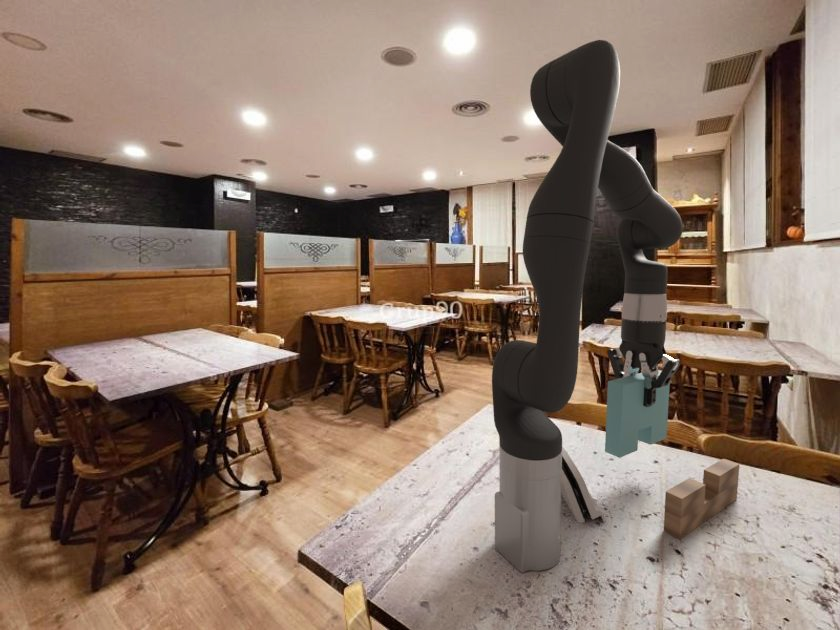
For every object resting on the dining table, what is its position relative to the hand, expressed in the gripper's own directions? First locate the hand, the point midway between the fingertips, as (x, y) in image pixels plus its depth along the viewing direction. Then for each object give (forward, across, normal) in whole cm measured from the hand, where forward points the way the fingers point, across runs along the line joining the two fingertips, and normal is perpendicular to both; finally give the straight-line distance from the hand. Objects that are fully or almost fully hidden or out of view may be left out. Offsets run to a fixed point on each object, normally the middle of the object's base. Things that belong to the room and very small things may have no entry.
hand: (639, 402), depth 78 cm
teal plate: (+9, 0, 0) cm, 9 cm away
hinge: (+18, -4, -14) cm, 23 cm away
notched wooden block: (+17, +12, 0) cm, 21 cm away
